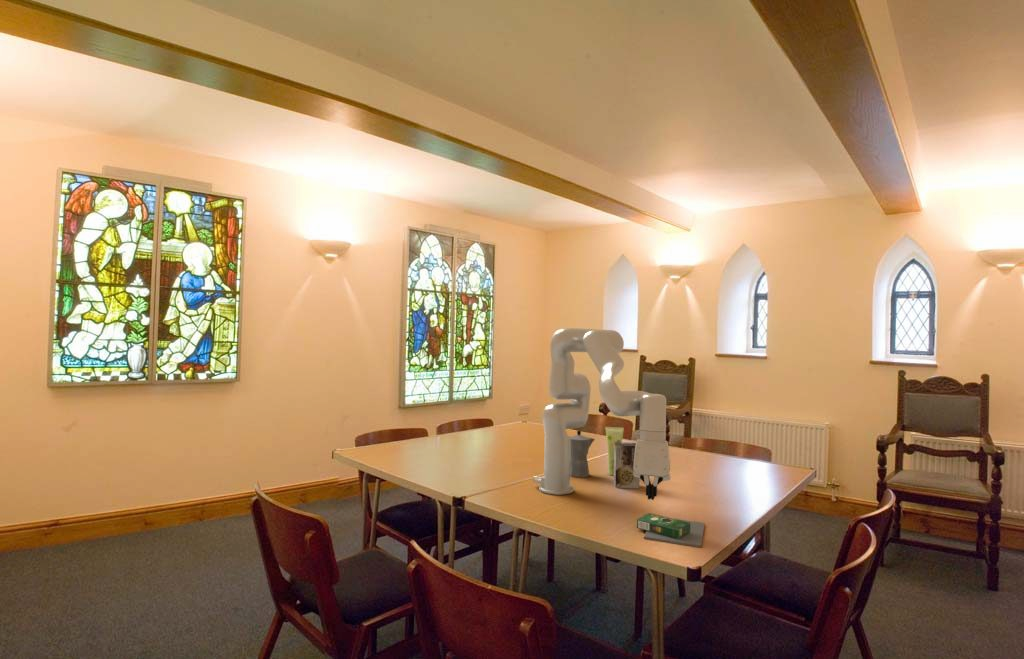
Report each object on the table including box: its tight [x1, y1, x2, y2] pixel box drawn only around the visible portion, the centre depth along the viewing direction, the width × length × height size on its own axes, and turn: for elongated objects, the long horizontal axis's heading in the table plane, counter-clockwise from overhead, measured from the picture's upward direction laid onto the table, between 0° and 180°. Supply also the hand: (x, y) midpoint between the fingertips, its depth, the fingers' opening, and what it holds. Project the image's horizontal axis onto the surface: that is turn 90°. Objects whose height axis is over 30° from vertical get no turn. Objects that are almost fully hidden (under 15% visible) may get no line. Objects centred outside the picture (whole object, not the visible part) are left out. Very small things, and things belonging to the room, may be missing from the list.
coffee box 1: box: [613, 441, 640, 489], centre depth 207 cm, size 9×6×16 cm
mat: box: [643, 517, 706, 548], centre depth 158 cm, size 15×20×1 cm
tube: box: [604, 426, 625, 477], centre depth 225 cm, size 6×5×20 cm
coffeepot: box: [568, 430, 596, 479], centre depth 223 cm, size 15×9×18 cm, turn 94°
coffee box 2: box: [636, 512, 690, 539], centre depth 157 cm, size 8×3×13 cm
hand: (651, 498), depth 161 cm, fingers closed
